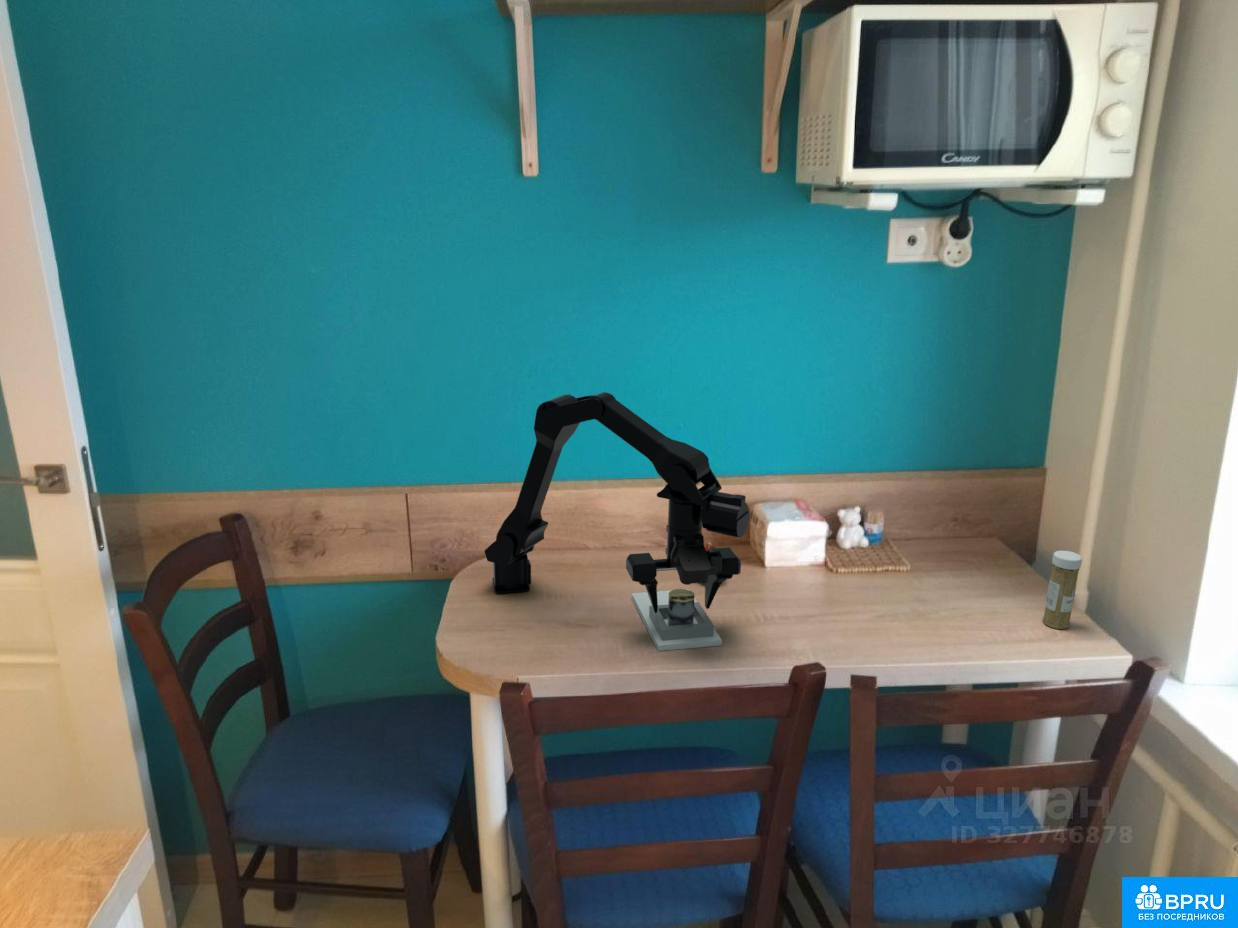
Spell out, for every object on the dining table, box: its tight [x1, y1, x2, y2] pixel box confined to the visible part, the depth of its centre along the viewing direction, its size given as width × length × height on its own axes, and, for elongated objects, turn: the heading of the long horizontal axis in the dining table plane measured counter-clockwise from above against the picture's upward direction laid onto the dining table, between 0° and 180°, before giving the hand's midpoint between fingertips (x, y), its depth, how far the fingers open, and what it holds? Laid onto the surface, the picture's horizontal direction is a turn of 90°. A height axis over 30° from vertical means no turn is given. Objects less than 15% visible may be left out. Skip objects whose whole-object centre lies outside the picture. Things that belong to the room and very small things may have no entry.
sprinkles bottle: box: [1042, 550, 1083, 630], centre depth 163 cm, size 5×5×13 cm
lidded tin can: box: [668, 588, 695, 626], centre depth 158 cm, size 4×4×6 cm
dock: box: [631, 588, 723, 652], centre depth 163 cm, size 11×20×3 cm, turn 12°
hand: (681, 609), depth 158 cm, fingers open, 9 cm apart
